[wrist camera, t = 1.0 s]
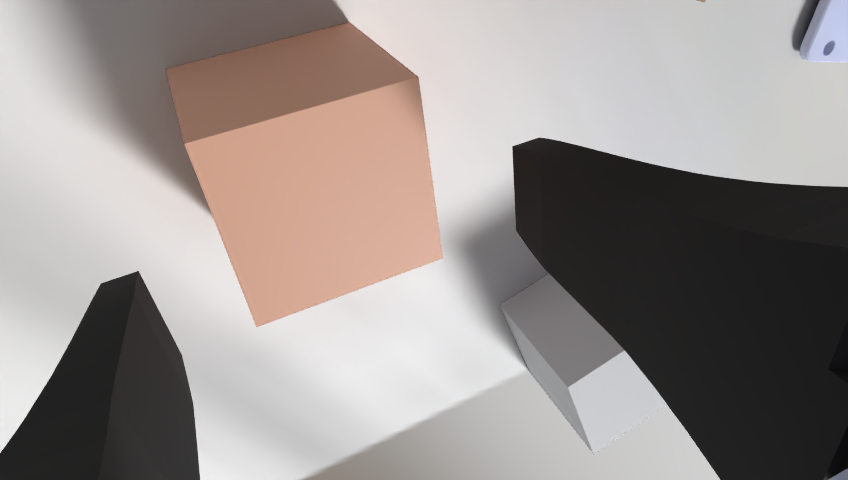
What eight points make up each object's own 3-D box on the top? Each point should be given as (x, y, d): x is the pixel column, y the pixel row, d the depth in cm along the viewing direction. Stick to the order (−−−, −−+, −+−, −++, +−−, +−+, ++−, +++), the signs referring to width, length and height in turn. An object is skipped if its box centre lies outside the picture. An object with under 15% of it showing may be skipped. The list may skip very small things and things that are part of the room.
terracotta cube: (348, 21, 16) (418, 76, 12) (378, 176, 18) (443, 258, 15) (165, 68, 14) (184, 144, 11) (225, 225, 17) (256, 326, 14)
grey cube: (598, 240, 23) (683, 311, 20) (617, 312, 26) (694, 386, 23) (498, 303, 23) (567, 387, 20) (528, 370, 26) (593, 454, 22)
